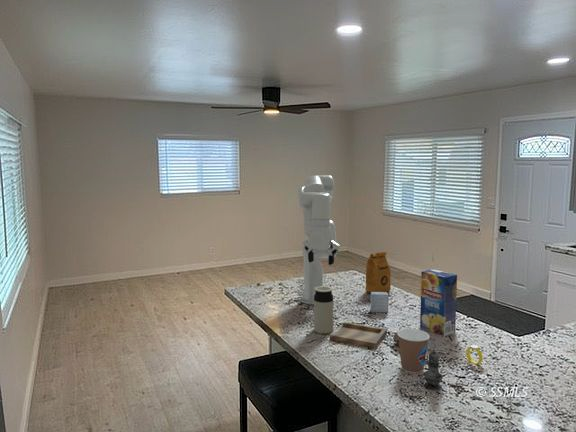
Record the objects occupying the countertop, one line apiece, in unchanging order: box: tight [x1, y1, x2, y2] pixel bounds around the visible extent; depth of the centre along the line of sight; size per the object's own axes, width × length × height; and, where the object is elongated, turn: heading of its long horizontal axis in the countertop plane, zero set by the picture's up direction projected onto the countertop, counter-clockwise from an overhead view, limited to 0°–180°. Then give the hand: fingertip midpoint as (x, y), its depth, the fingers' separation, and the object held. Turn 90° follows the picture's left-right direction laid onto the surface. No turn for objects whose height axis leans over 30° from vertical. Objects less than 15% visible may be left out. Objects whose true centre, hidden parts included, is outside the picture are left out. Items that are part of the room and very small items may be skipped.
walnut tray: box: [329, 321, 388, 350], centre depth 170 cm, size 18×16×2 cm
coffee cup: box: [397, 328, 430, 374], centre depth 142 cm, size 10×10×12 cm
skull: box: [393, 329, 401, 345], centre depth 162 cm, size 12×8×6 cm, turn 115°
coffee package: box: [365, 251, 392, 294], centre depth 230 cm, size 10×12×22 cm
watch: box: [465, 344, 483, 366], centre depth 147 cm, size 6×3×6 cm, turn 23°
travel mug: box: [313, 285, 334, 335], centre depth 176 cm, size 8×8×18 cm
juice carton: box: [419, 268, 458, 337], centre depth 176 cm, size 12×8×24 cm, turn 31°
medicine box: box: [370, 292, 389, 313], centre depth 200 cm, size 8×4×9 cm, turn 84°
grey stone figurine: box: [422, 348, 444, 392], centre depth 131 cm, size 6×6×12 cm
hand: (320, 263), depth 181 cm, fingers open, 9 cm apart
